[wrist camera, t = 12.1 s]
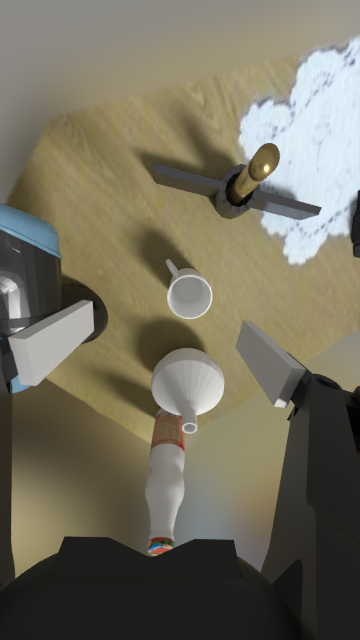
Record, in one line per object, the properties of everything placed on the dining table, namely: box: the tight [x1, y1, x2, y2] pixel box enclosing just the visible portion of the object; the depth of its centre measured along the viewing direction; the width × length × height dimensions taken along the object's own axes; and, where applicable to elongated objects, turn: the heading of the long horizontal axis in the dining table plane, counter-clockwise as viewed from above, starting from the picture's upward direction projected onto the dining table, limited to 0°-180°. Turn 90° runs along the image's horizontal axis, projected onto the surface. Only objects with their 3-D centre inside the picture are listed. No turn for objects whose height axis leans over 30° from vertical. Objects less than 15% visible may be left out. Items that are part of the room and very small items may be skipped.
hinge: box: [152, 163, 322, 220], centre depth 32 cm, size 31×7×5 cm, turn 78°
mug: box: [166, 259, 212, 319], centre depth 34 cm, size 12×8×12 cm
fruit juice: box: [145, 408, 185, 556], centre depth 43 cm, size 9×9×28 cm
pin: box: [226, 143, 280, 206], centre depth 27 cm, size 3×3×15 cm
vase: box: [151, 348, 224, 434], centre depth 40 cm, size 18×18×19 cm
